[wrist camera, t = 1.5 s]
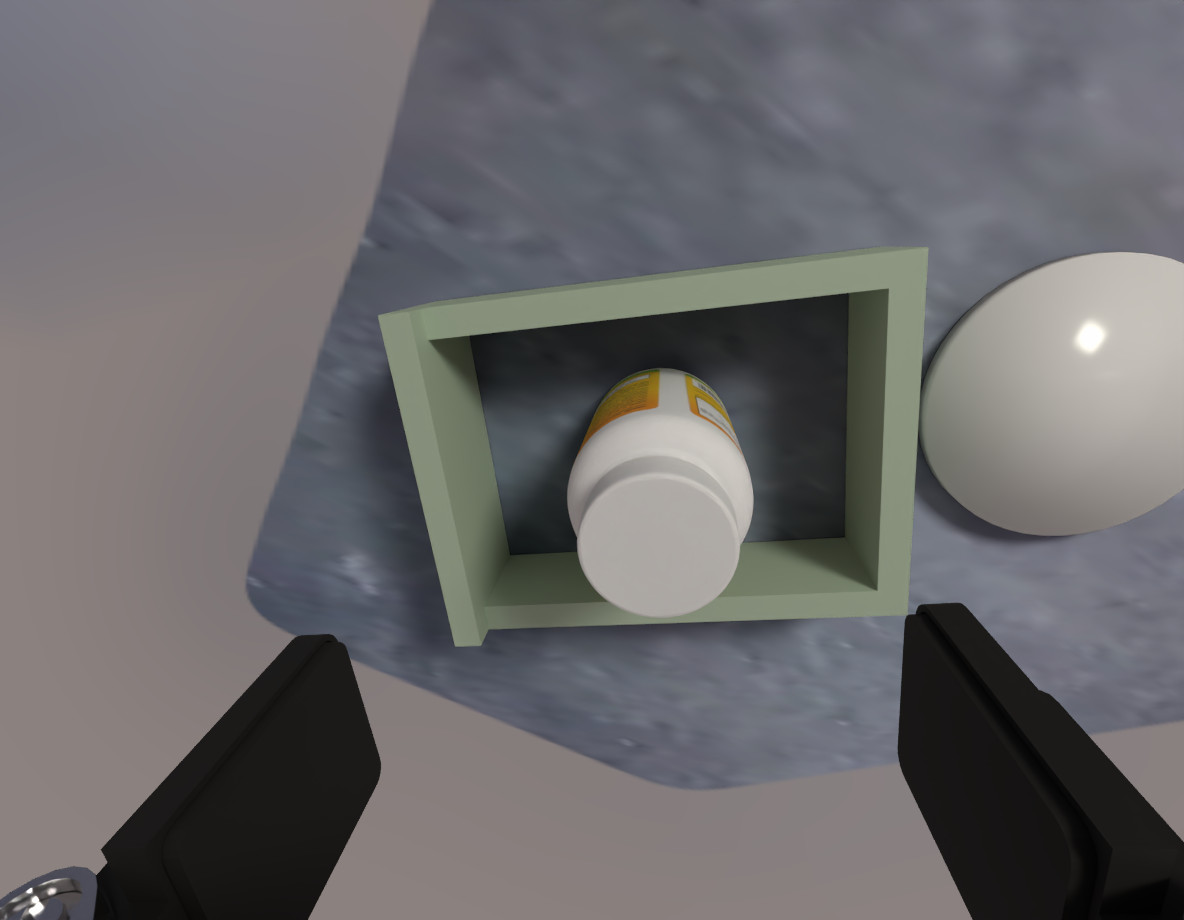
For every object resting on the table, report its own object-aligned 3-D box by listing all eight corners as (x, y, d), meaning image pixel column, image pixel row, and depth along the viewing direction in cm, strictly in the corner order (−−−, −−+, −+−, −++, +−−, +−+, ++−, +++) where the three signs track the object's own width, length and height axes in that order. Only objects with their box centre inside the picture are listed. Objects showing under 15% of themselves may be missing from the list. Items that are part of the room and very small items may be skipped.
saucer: (1261, 232, 19) (1286, 232, 18) (1197, 518, 22) (1216, 527, 21) (925, 271, 20) (935, 272, 20) (910, 533, 24) (918, 543, 23)
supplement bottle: (584, 483, 25) (536, 622, 16) (603, 355, 23) (561, 427, 14) (714, 506, 24) (742, 662, 15) (744, 377, 22) (797, 467, 13)
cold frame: (880, 246, 20) (944, 246, 16) (870, 558, 24) (919, 632, 20) (437, 301, 23) (377, 315, 18) (492, 576, 27) (454, 646, 22)
